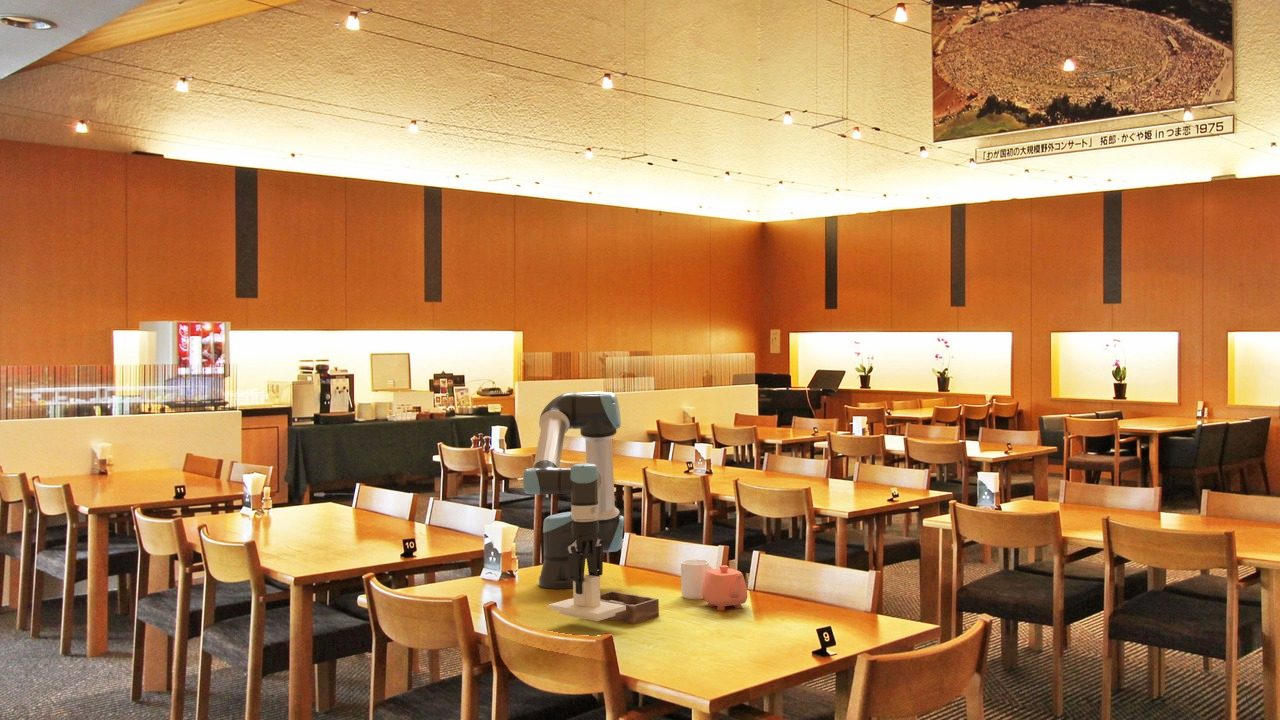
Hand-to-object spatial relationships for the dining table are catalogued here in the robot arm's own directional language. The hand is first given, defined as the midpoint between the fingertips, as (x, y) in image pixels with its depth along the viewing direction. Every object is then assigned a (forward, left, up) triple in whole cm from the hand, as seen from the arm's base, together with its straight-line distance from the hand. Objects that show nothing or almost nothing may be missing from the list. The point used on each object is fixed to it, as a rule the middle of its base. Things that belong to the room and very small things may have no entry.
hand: (586, 603), depth 296 cm
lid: (0, 0, -3) cm, 3 cm away
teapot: (+18, +41, -7) cm, 45 cm away
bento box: (0, +15, -6) cm, 16 cm away
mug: (+3, +48, -7) cm, 49 cm away
